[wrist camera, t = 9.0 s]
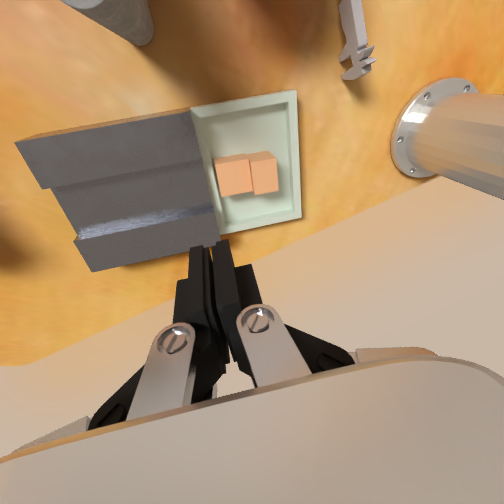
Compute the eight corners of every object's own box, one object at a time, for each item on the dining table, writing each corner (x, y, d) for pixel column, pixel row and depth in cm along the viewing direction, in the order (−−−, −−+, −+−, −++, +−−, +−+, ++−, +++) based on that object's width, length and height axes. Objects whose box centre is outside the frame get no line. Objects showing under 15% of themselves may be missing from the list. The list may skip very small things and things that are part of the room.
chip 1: (244, 153, 34) (248, 158, 32) (248, 183, 37) (252, 191, 34) (213, 158, 34) (215, 164, 32) (219, 188, 36) (221, 197, 34)
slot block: (190, 107, 31) (190, 111, 27) (218, 228, 40) (221, 244, 36) (36, 134, 30) (14, 142, 26) (101, 253, 39) (91, 272, 35)
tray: (291, 89, 32) (296, 90, 30) (297, 211, 41) (301, 217, 39) (190, 107, 31) (190, 108, 29) (218, 228, 40) (220, 235, 38)
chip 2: (245, 154, 34) (268, 150, 35) (249, 184, 37) (270, 180, 37) (251, 162, 31) (276, 157, 31) (255, 195, 33) (278, 190, 34)
